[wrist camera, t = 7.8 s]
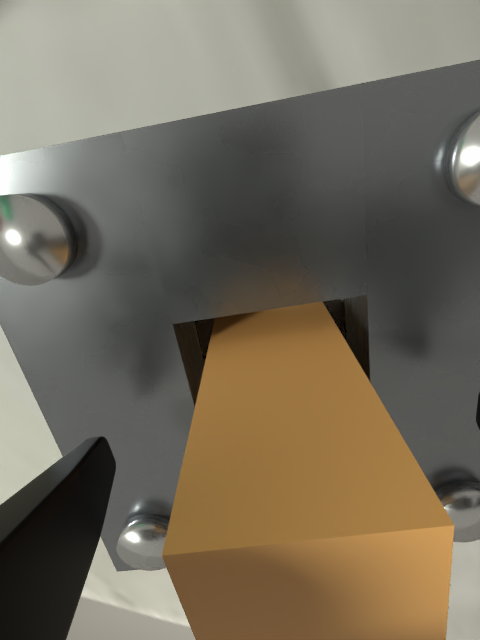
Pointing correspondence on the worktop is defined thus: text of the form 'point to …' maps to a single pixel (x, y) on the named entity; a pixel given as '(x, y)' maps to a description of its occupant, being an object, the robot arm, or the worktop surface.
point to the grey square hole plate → (251, 273)
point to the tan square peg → (302, 496)
